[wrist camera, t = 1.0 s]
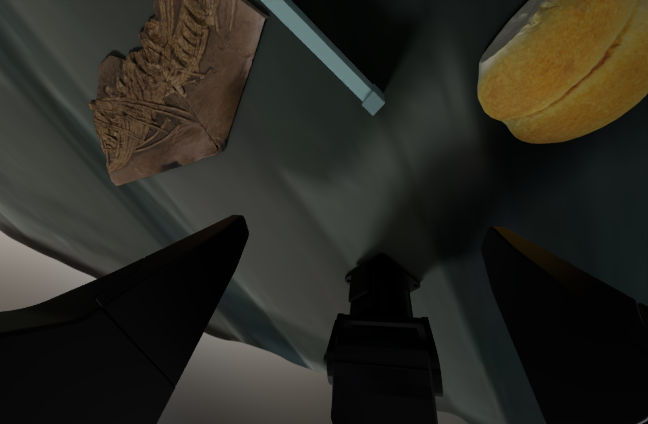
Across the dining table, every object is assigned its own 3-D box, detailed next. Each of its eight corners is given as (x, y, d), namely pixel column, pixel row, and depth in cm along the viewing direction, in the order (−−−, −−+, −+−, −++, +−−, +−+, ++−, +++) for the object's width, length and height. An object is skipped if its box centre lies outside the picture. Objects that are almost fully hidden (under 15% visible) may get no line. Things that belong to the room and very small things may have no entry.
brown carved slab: (207, -88, 14) (197, -96, 14) (310, 85, 19) (307, 87, 18) (62, 132, 26) (51, 135, 25) (147, 208, 30) (140, 213, 29)
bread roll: (537, 154, 19) (572, 177, 15) (450, 86, 17) (468, 95, 14) (681, 42, 14) (774, 40, 11) (578, -66, 12) (650, -106, 9)
